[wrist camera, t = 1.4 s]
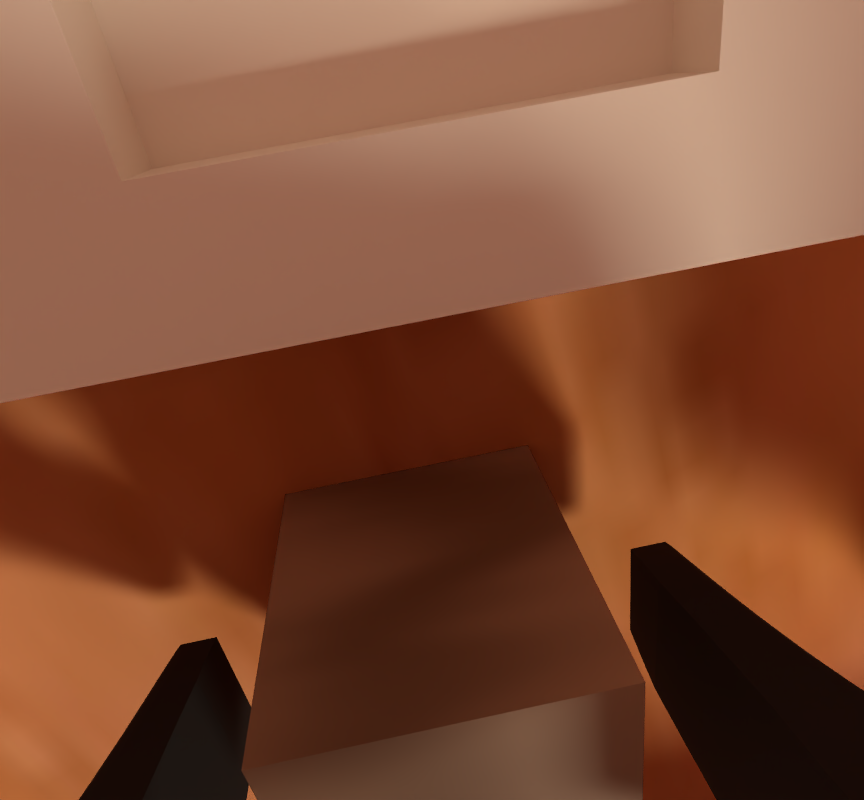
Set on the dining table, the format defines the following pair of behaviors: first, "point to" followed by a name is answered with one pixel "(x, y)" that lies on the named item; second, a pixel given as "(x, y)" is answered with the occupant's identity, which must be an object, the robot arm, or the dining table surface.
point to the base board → (393, 163)
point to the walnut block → (440, 647)
